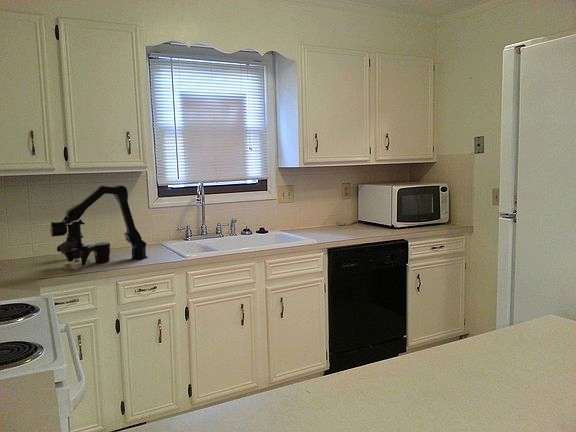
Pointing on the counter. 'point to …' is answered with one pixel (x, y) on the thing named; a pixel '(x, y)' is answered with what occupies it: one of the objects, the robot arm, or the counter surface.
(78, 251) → the drinking cup
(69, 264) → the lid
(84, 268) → the mat
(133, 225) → the robot arm
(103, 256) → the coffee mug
